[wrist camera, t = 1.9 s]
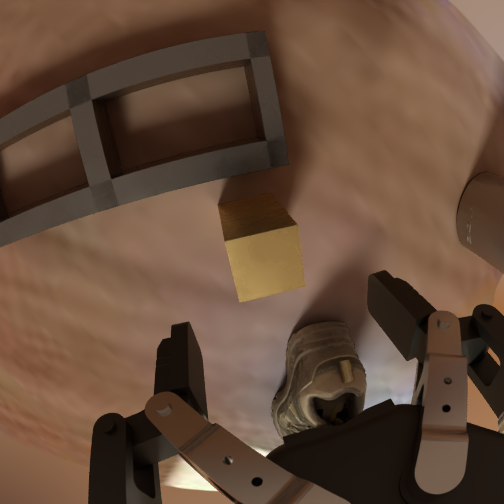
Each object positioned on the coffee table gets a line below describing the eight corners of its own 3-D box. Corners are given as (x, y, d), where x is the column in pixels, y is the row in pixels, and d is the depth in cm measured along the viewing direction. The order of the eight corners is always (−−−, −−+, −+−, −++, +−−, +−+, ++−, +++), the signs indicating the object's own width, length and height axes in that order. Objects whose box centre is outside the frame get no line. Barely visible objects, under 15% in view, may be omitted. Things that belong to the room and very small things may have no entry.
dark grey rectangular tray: (256, 41, 17) (264, 30, 15) (278, 158, 21) (289, 164, 19) (-22, 142, 16) (-43, 148, 13) (7, 237, 20) (-11, 251, 17)
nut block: (270, 193, 23) (297, 224, 16) (278, 240, 24) (305, 286, 18) (217, 204, 22) (224, 241, 16) (229, 252, 24) (239, 302, 18)
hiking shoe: (259, 448, 35) (324, 500, 26) (252, 324, 28) (359, 387, 19) (307, 415, 40) (370, 456, 31) (317, 292, 33) (414, 331, 24)
